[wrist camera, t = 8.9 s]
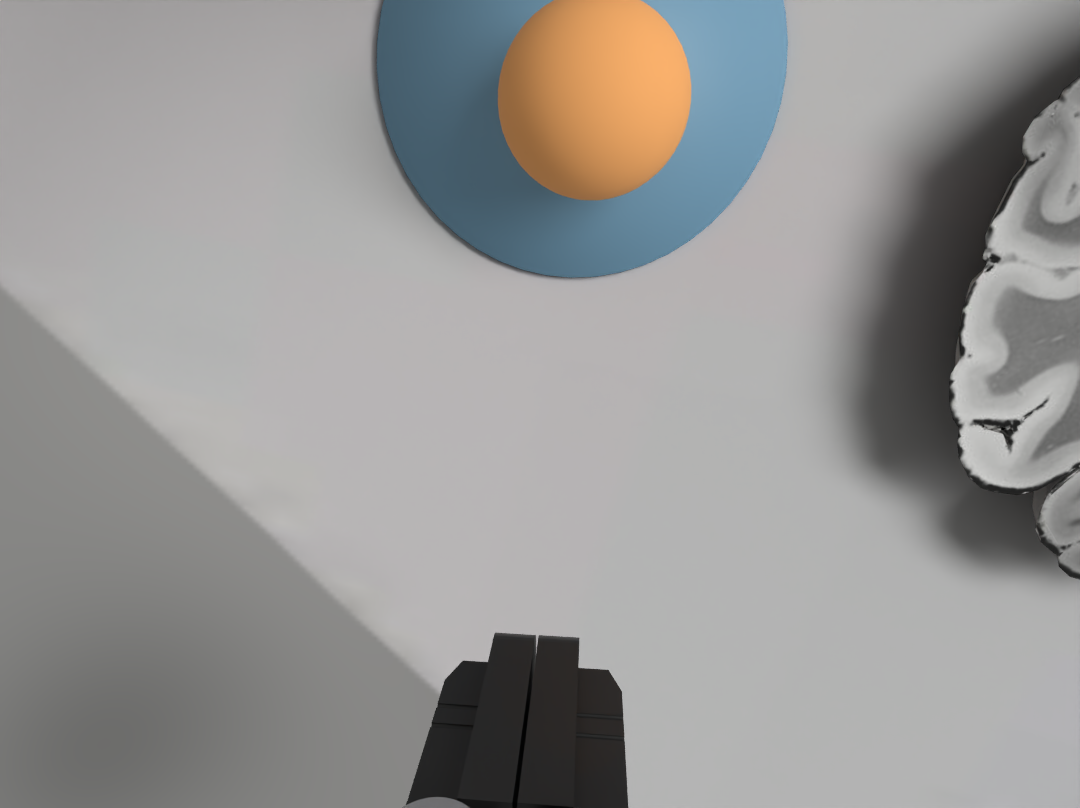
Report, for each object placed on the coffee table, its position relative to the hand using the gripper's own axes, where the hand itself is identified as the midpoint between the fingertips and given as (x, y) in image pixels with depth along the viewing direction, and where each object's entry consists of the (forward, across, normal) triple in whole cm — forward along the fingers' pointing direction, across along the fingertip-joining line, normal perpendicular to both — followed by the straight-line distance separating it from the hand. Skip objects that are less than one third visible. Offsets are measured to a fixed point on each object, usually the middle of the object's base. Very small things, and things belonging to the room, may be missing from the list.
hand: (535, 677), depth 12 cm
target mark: (+14, 0, -12) cm, 18 cm away
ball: (+11, -1, -11) cm, 16 cm away
